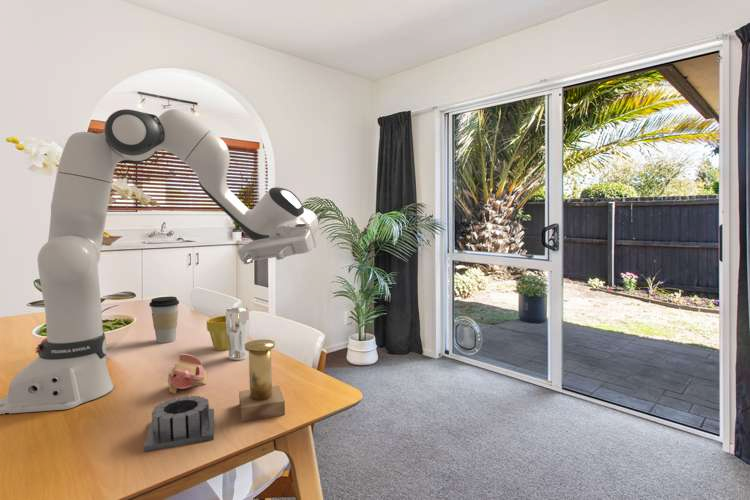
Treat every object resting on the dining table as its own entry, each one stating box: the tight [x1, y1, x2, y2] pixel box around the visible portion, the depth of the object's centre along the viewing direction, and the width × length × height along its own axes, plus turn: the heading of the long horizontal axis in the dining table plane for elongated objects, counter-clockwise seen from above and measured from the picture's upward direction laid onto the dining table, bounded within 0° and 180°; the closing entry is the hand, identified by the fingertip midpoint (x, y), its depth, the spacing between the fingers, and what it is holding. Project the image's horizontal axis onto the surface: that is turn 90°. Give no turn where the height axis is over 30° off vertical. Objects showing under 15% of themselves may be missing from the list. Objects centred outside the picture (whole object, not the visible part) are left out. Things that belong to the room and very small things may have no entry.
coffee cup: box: [149, 296, 180, 344], centre depth 147 cm, size 9×9×15 cm
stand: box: [238, 385, 286, 422], centre depth 94 cm, size 9×9×3 cm
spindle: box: [245, 339, 276, 401], centre depth 94 cm, size 6×6×12 cm
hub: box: [143, 395, 215, 453], centre depth 85 cm, size 12×12×5 cm
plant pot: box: [206, 315, 229, 351], centre depth 139 cm, size 10×10×10 cm
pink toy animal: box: [167, 353, 208, 395], centre depth 107 cm, size 9×10×10 cm
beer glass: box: [225, 306, 251, 361], centre depth 129 cm, size 7×7×15 cm
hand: (261, 259), depth 103 cm, fingers open, 8 cm apart
